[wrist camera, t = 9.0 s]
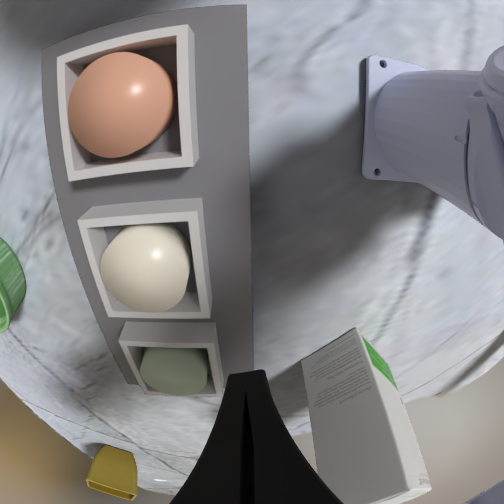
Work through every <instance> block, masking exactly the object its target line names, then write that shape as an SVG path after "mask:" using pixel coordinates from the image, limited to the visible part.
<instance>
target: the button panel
mask: <svg viewBox="0 0 504 504" xmlns="http://www.w3.org/2000/svg"><path fill="white" fill-rule="evenodd" d="M116 52H131V53H135V54H138V55H141V56H143V57H146V58H148V59H150V60H153V61H155V62H157V63H159V64H160V65H162V66H163V67H164V68H165V69H167V71H168V72H169V73H170V74H171V76H172V78H173V79H174V82H175V84H176V88H177V94H178V103H177V109H176V113H175V116H174V118H173V120H172V122H171V124H170V126H169V127H168V128H167V130H166V131H165V132H164V133H163V134H162V135H161V136H160V137H159V138H158V139H157V140H155V141H153V142H152V143H150V144H148V145H146V146H145V147H143V148H141V149H139V150H137V151H135V152H133V153H131V154H129V155H126V156H122V157H117V158H106V157H101V156H98V155H95V154H93V153H91V152H89V151H88V150H86V149H85V148H84V147H83V146H82V145H81V144H80V143H79V142H78V141H77V139H76V138H75V136H74V134H73V132H72V130H71V127H70V123H69V118H68V104H69V98H70V94H71V91H72V88H73V86H74V84H75V82H76V80H77V79H78V77H79V76H80V75H81V73H82V72H83V71H84V70H85V69H86V68H87V67H88V66H89V65H90V64H91V63H93V62H94V61H96V60H97V59H99V58H101V57H103V56H105V55H108V54H111V53H116ZM42 97H43V111H44V122H45V132H46V140H47V147H48V154H49V160H50V166H51V172H52V177H53V182H54V187H55V192H56V196H57V201H58V205H59V209H60V213H61V217H62V221H63V225H64V228H65V232H66V235H67V239H68V242H69V246H70V249H71V252H72V255H73V258H74V261H75V264H76V267H77V270H78V273H79V276H80V279H81V282H82V284H83V287H84V290H85V292H86V295H87V297H88V300H89V303H90V305H91V308H92V310H93V312H94V315H95V317H96V319H97V322H98V324H99V326H100V329H101V331H102V333H103V335H104V337H105V340H106V342H107V344H108V346H109V348H110V350H111V352H112V354H113V356H114V358H115V360H116V362H117V364H118V366H119V368H120V370H121V372H122V374H123V375H124V377H125V379H126V381H127V383H128V384H136V385H140V387H141V389H142V391H143V392H144V394H152V395H166V396H175V395H170V394H166V393H163V392H160V391H158V390H156V389H154V388H152V387H151V386H149V385H148V384H147V383H146V382H145V381H144V380H143V378H142V377H141V374H140V367H141V364H142V360H143V357H144V353H145V350H146V347H166V348H205V349H206V350H207V352H208V369H207V382H206V386H205V388H204V389H203V390H202V391H200V392H198V393H196V394H193V395H188V396H186V397H223V388H226V383H227V378H228V376H229V375H230V374H234V373H242V372H248V371H254V359H253V310H252V260H251V210H250V159H249V107H248V54H247V5H220V6H206V7H196V8H187V9H180V10H173V11H167V12H161V13H155V14H150V15H145V16H141V17H136V18H132V19H128V20H124V21H120V22H116V23H113V24H109V25H106V26H102V27H99V28H96V29H93V30H90V31H87V32H84V33H81V34H78V35H76V36H73V37H70V38H68V39H65V40H63V41H60V42H58V43H55V44H53V45H51V46H48V47H46V48H44V49H42ZM165 222H169V223H170V224H172V225H174V226H175V227H176V228H177V229H179V230H180V231H181V232H182V234H183V235H184V236H185V238H186V239H187V241H188V243H189V245H190V248H191V251H192V265H191V269H190V273H189V277H188V282H187V286H186V290H185V293H184V295H183V297H182V299H181V300H180V301H179V303H178V304H176V305H175V306H174V307H172V308H171V309H168V310H166V311H163V312H158V313H146V312H140V311H137V310H134V309H131V308H129V307H127V306H125V305H124V304H122V303H121V302H119V301H118V300H117V299H116V298H115V297H114V296H113V295H112V294H111V293H110V292H109V290H108V289H107V288H106V286H105V284H104V282H103V279H102V276H101V270H100V263H101V258H102V255H103V253H104V251H105V250H106V248H107V247H108V246H109V244H110V243H111V242H112V240H113V239H114V238H115V236H116V235H117V234H118V233H119V231H120V230H121V229H122V228H123V227H124V226H125V225H133V224H148V223H165Z"/></svg>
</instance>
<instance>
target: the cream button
mask: <svg viewBox="0 0 504 504" xmlns="http://www.w3.org/2000/svg"><path fill="white" fill-rule="evenodd" d="M191 265H192V251H191V248H190V245H189V243H188V241H187V239H186V238H185V236H184V235H183V234H182V232H181V231H180V230H179V229H177V228H176V227H175V226H174V225H172V224H170V223H169V222H165V223H148V224H133V225H125V226H124V227H123V228H122V229H121V230H120V231H119V233H118V234H117V235H116V236H115V238H114V239H113V240H112V242H111V243H110V244H109V246H108V247H107V248H106V250H105V251H104V253H103V255H102V258H101V263H100V270H101V276H102V279H103V282H104V284H105V286H106V288H107V289H108V290H109V292H110V293H111V294H112V295H113V296H114V297H115V298H116V299H117V300H118V301H119V302H121V303H122V304H124V305H125V306H127V307H129V308H131V309H134V310H137V311H140V312H146V313H158V312H163V311H166V310H168V309H171V308H172V307H174V306H175V305H176V304H178V303H179V301H180V300H181V299H182V297H183V295H184V293H185V290H186V286H187V282H188V277H189V273H190V269H191Z"/></svg>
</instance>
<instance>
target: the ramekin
mask: <svg viewBox="0 0 504 504" xmlns="http://www.w3.org/2000/svg"><path fill="white" fill-rule="evenodd" d="M25 291H26V282H25V277H24V273H23V270H22V267H21V265H20V263H19V261H18V259H17V257H16V255H15V254H14V252H13V251H12V249H11V248H10V247H9V246H8V244H7V243H6V242H5V241H4V240H3V239H1V238H0V333H2V332H4V331H6V330H7V329H8V327H9V325H10V323H11V319H12V316H13V315H14V313H15V311H16V309H17V308H18V306H19V304H20V303H21V301H22V299H23V297H24V295H25Z"/></svg>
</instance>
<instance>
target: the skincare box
mask: <svg viewBox="0 0 504 504" xmlns="http://www.w3.org/2000/svg"><path fill="white" fill-rule="evenodd" d="M301 365H302V370H303V376H304V382H305V389H306V395H307V401H308V408H309V415H310V421H311V428H312V435H313V442H314V449H315V456H316V464H317V472H318V476H319V477H320V478H321V479H322V481H323V482H324V483H325V484H326V485H327V486H328V488H329V489H330V490H331V491H332V492H333V493H334V494H335V495H336V496H337V497H338V498H339V499H340V500H341V501H342V502H343V503H344V504H401V503H403V502H406V501H408V500H411V499H413V498H416V497H418V496H420V495H422V494H424V493H426V492H428V491H430V490H432V488H431V485H430V481H429V478H428V475H427V471H426V468H425V465H424V461H423V458H422V455H421V452H420V449H419V446H418V443H417V440H416V437H415V434H414V431H413V428H412V425H411V422H410V420H409V417H408V414H407V412H406V409H405V406H404V403H403V401H402V398H401V395H400V393H399V390H398V387H397V385H396V382H395V380H394V377H393V375H392V372H391V370H390V367H389V365H388V363H387V361H386V360H385V359H384V358H383V357H382V356H381V354H380V353H379V352H378V351H377V350H376V349H375V348H374V347H373V345H372V344H371V343H370V342H369V341H368V340H367V339H366V338H365V337H364V335H363V334H362V333H361V332H360V331H359V330H358V329H357V328H354V329H352V330H351V331H349V332H348V333H346V334H344V335H343V336H341V337H340V338H338V339H337V340H335V341H333V342H332V343H330V344H328V345H327V346H325V347H323V348H322V349H320V350H318V351H317V352H315V353H313V354H312V355H310V356H308V357H306V358H305V359H303V360H301Z"/></svg>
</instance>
